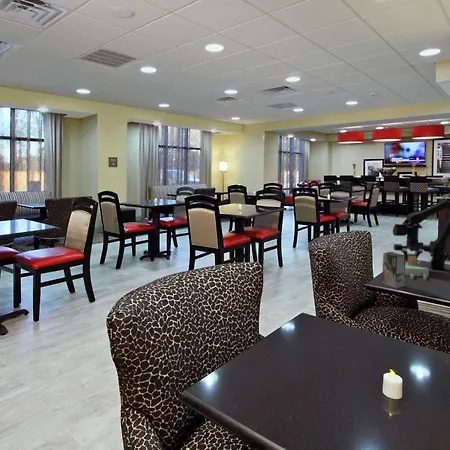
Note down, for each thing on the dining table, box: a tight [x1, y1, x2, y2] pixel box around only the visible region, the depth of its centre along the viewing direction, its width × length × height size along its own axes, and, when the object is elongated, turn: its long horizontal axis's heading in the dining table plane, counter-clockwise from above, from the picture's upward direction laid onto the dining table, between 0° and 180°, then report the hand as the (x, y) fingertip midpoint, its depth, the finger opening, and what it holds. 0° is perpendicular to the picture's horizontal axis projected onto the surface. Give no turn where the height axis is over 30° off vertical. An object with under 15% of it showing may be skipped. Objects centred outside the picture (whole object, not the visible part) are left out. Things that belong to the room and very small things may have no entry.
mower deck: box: [405, 260, 430, 281], centre depth 211 cm, size 12×16×6 cm
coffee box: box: [381, 251, 406, 289], centre depth 195 cm, size 9×6×16 cm
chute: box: [405, 252, 417, 265], centre depth 223 cm, size 4×7×7 cm, turn 166°
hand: (410, 262), depth 224 cm, fingers closed on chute, 4 cm apart
